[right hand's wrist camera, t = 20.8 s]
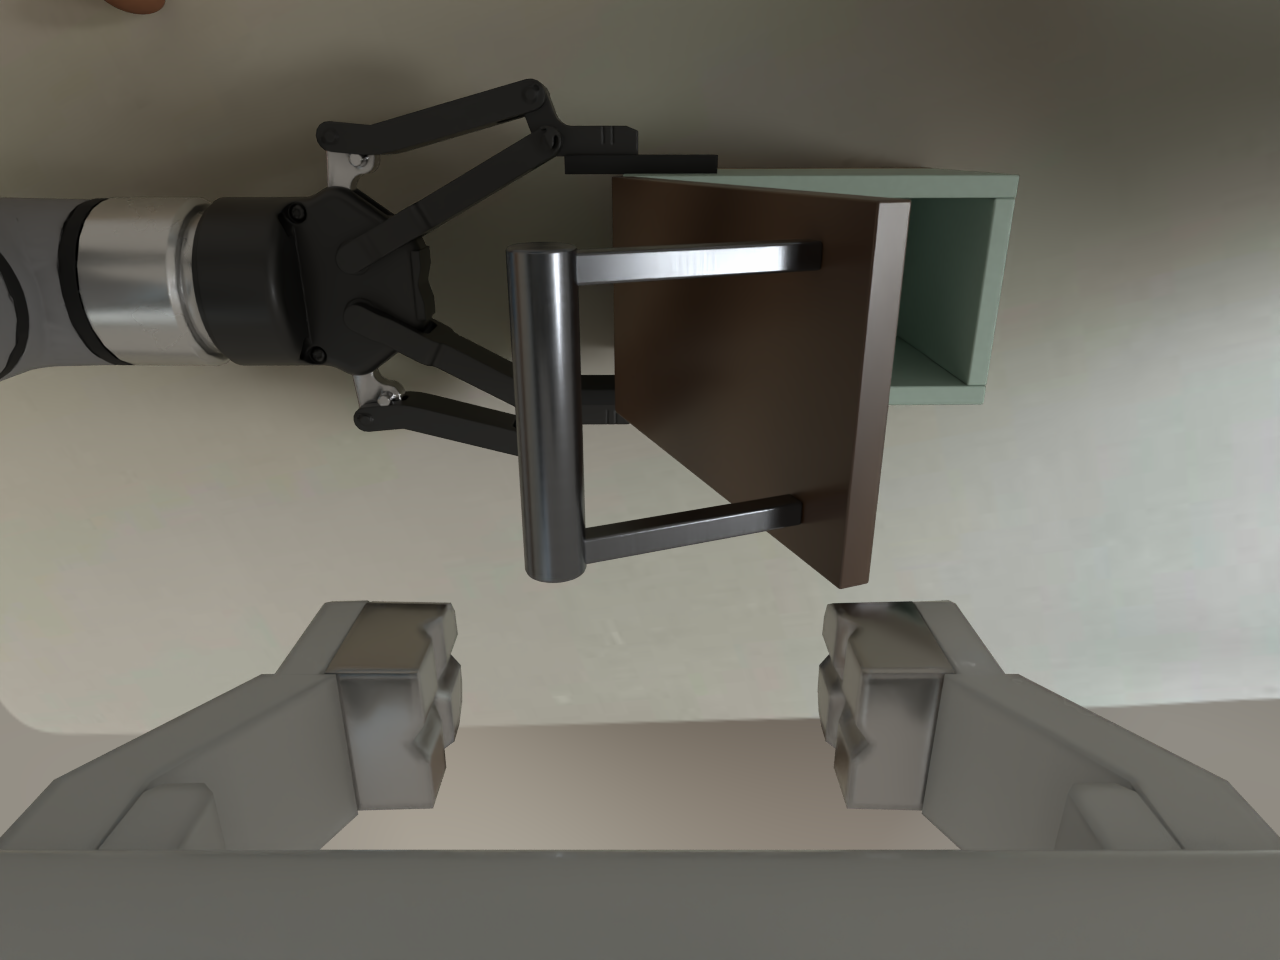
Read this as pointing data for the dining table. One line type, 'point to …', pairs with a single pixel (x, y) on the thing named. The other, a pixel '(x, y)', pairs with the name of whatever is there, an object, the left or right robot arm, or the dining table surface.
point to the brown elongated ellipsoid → (138, 5)
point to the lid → (717, 367)
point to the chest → (926, 266)
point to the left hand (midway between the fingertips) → (710, 282)
